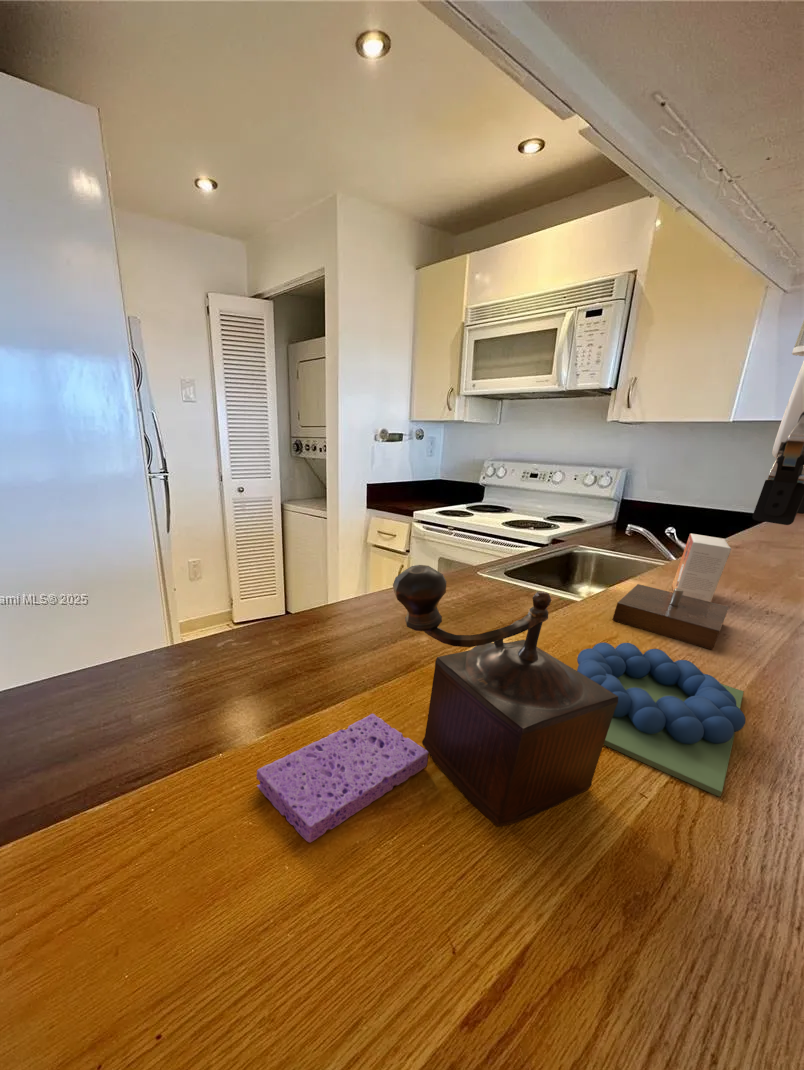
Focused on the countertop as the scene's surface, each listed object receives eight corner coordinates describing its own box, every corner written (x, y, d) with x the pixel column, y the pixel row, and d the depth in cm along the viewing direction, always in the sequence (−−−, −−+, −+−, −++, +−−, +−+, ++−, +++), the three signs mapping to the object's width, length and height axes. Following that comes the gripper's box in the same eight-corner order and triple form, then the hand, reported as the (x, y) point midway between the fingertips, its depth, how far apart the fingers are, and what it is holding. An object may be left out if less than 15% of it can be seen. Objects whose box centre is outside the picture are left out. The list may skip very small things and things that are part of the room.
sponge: (427, 769, 40) (429, 751, 40) (307, 847, 33) (308, 827, 32) (371, 727, 45) (373, 711, 45) (255, 786, 37) (255, 768, 37)
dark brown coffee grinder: (501, 715, 48) (537, 545, 42) (593, 790, 39) (659, 589, 33) (367, 755, 42) (384, 560, 35) (441, 856, 33) (485, 620, 26)
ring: (774, 763, 43) (787, 738, 42) (604, 738, 45) (612, 713, 44) (681, 666, 60) (689, 646, 59) (559, 650, 61) (564, 631, 60)
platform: (632, 599, 83) (641, 570, 81) (722, 623, 75) (735, 591, 73) (612, 620, 74) (621, 587, 72) (712, 650, 66) (726, 614, 64)
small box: (671, 585, 91) (689, 532, 87) (706, 592, 89) (726, 538, 85) (672, 598, 85) (692, 541, 81) (710, 605, 82) (732, 547, 78)
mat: (605, 649, 64) (606, 645, 64) (742, 695, 55) (744, 691, 55) (543, 717, 48) (544, 713, 48) (719, 797, 40) (722, 792, 39)
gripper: (906, 318, 36) (815, 535, 43) (909, 343, 47) (836, 513, 54) (781, 327, 41) (717, 519, 48) (810, 347, 52) (754, 502, 59)
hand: (780, 516), depth 51 cm, fingers open, 9 cm apart
